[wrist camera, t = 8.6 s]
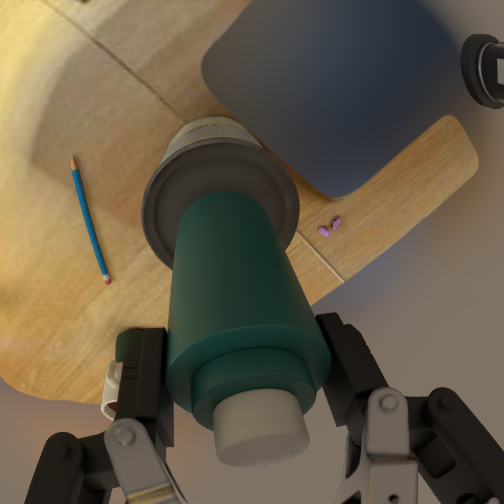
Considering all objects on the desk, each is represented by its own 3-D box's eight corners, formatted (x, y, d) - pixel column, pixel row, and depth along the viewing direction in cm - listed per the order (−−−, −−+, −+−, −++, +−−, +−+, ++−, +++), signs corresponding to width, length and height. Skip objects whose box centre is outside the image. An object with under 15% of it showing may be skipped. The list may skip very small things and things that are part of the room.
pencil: (106, 281, 37) (105, 285, 36) (69, 154, 28) (67, 155, 27) (111, 281, 37) (110, 284, 37) (75, 152, 28) (73, 154, 28)
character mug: (171, 358, 46) (170, 430, 35) (132, 365, 46) (125, 433, 35) (143, 310, 40) (131, 388, 29) (100, 319, 40) (81, 393, 29)
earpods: (330, 214, 38) (329, 208, 37) (341, 221, 38) (340, 215, 36) (317, 233, 38) (316, 228, 37) (328, 240, 38) (327, 235, 36)
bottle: (215, 171, 16) (251, 382, 5) (290, 225, 18) (391, 418, 7) (159, 245, 17) (132, 463, 7) (232, 287, 20) (270, 483, 9)
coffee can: (281, 151, 32) (330, 200, 20) (224, 223, 35) (238, 305, 23) (201, 95, 28) (201, 104, 16) (146, 176, 31) (114, 240, 19)
